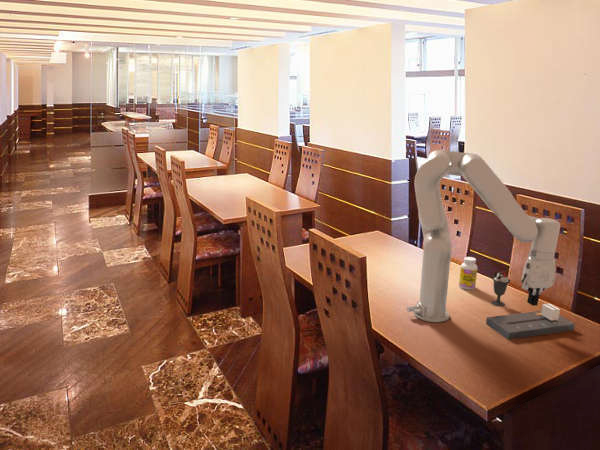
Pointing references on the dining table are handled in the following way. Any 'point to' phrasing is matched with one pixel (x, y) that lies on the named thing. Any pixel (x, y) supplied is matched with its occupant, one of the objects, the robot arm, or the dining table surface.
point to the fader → (550, 312)
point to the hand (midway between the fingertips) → (532, 303)
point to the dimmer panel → (528, 325)
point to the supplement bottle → (468, 273)
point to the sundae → (500, 286)
